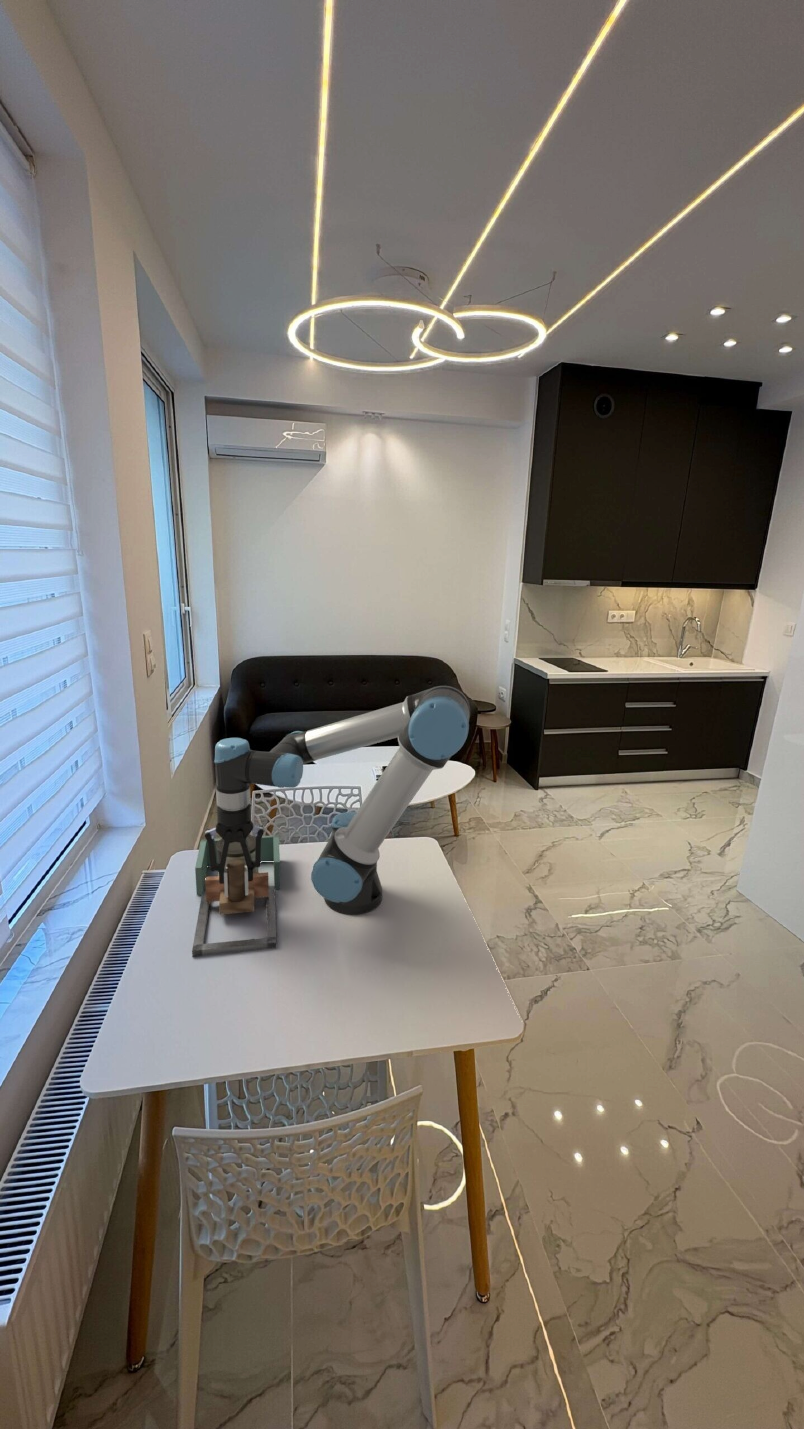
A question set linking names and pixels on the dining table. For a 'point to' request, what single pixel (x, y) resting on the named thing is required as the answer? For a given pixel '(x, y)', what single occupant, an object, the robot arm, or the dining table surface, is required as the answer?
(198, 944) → the track
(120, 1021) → the dining table surface
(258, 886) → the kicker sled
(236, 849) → the coffee can
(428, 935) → the dining table surface
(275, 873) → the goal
